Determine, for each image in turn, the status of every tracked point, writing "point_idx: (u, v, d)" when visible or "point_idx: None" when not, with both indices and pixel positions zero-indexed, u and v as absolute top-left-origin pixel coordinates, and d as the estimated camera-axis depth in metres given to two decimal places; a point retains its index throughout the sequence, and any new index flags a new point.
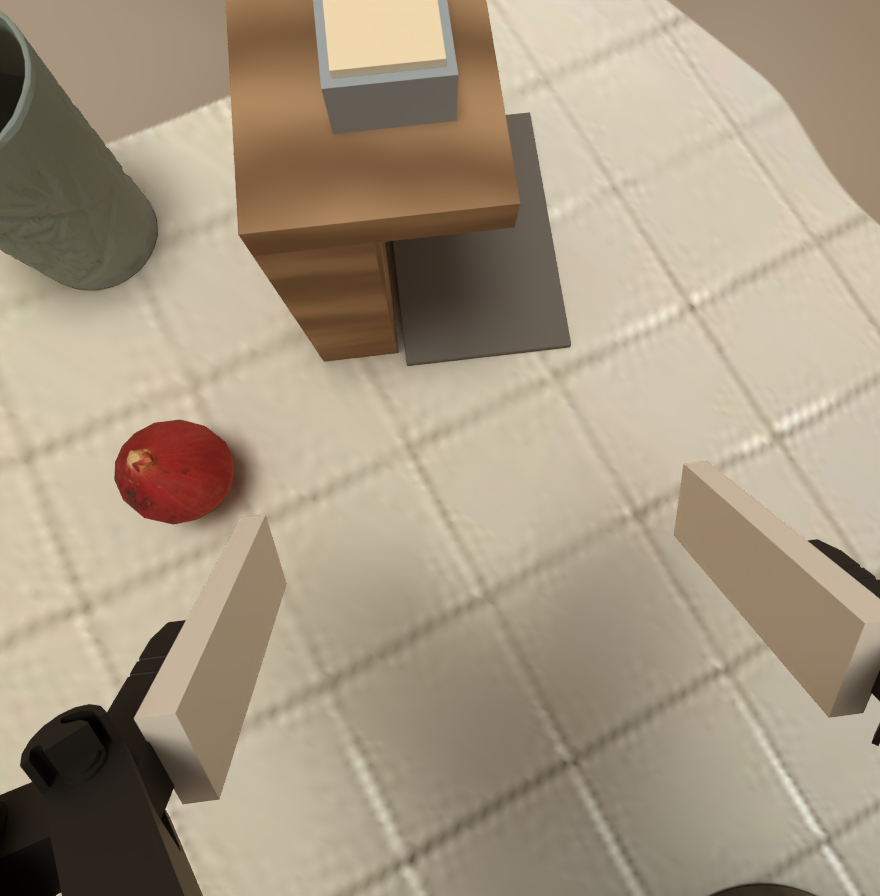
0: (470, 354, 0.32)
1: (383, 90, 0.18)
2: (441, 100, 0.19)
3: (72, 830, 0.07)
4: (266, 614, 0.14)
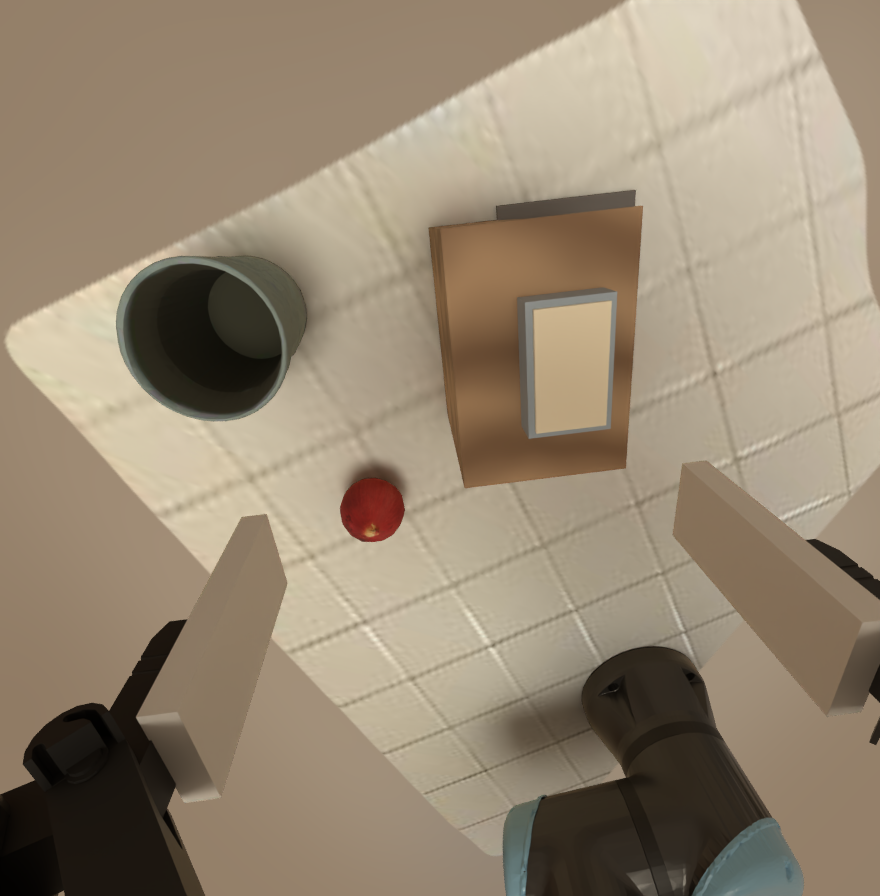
0: None
1: None
2: None
3: (75, 828, 0.07)
4: (267, 613, 0.14)
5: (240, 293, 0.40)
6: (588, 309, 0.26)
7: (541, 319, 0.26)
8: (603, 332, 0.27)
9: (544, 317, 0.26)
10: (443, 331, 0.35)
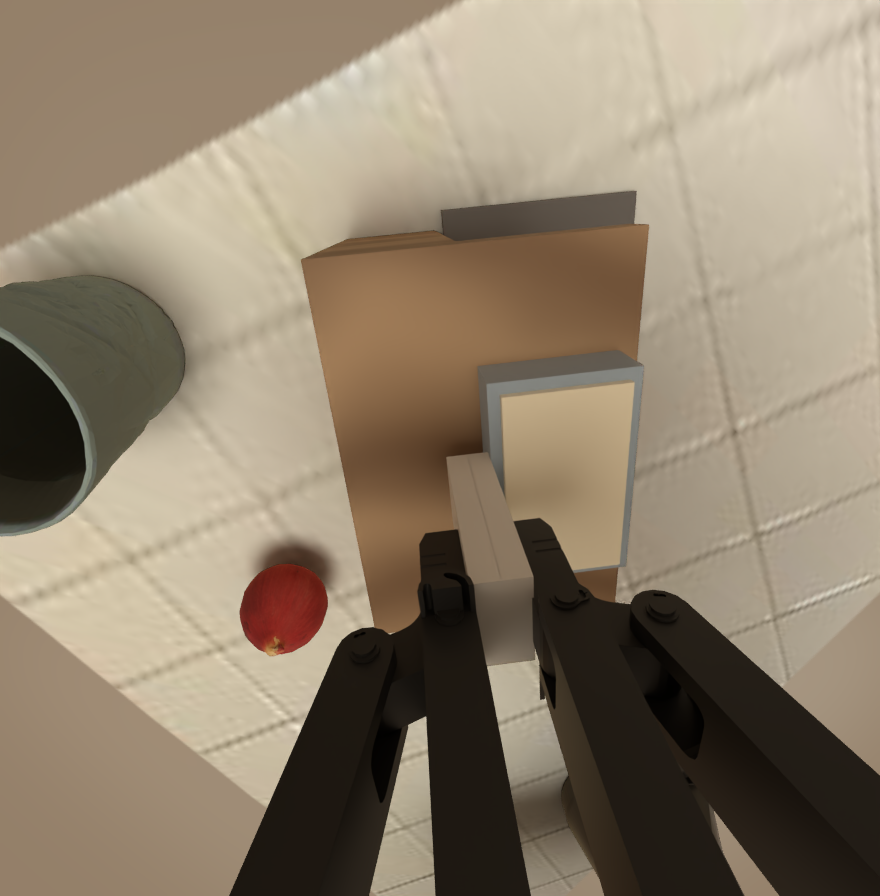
0: None
1: None
2: None
3: (436, 655, 0.10)
4: None
5: None
6: (594, 396, 0.15)
7: (514, 412, 0.15)
8: (619, 430, 0.16)
9: (520, 409, 0.15)
10: None
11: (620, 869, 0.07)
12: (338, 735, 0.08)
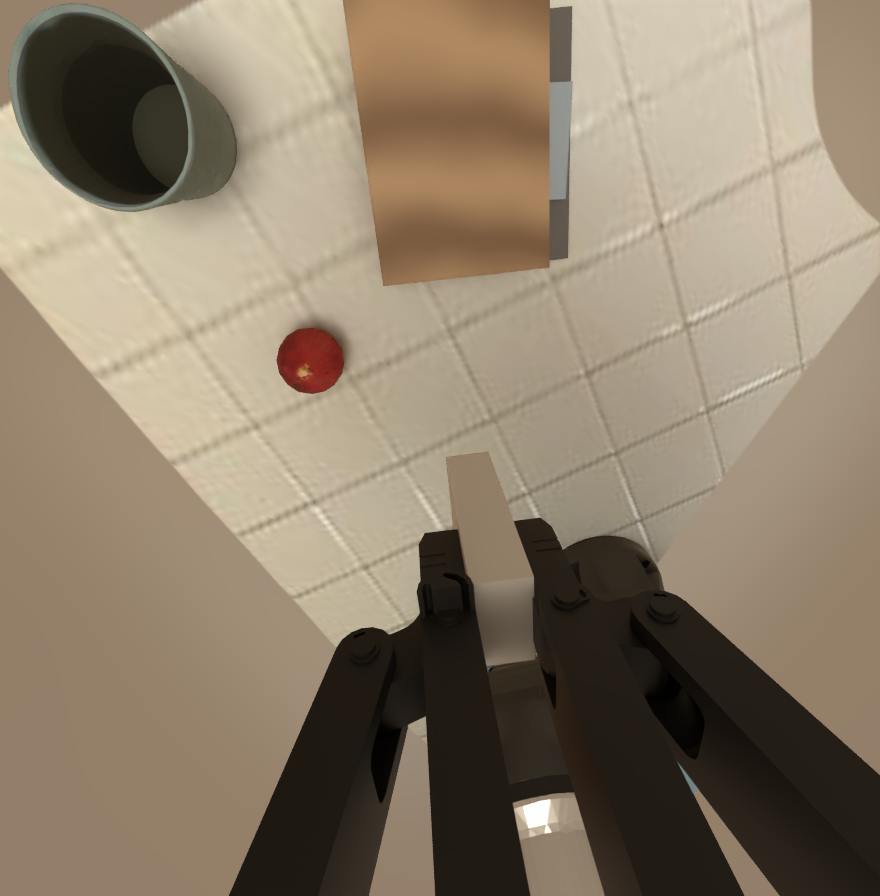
0: None
1: None
2: None
3: (435, 655, 0.10)
4: None
5: (165, 117, 0.38)
6: None
7: None
8: None
9: None
10: None
11: (620, 869, 0.07)
12: (338, 735, 0.08)
